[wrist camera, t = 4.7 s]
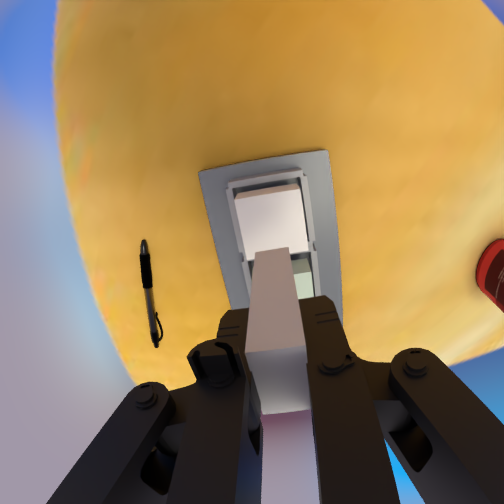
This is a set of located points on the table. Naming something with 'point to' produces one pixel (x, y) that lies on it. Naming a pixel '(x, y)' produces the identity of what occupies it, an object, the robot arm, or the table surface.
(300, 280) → the key green
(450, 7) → the table surface
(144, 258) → the pen
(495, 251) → the canned food
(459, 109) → the table surface
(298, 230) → the key ivory
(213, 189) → the keypad
